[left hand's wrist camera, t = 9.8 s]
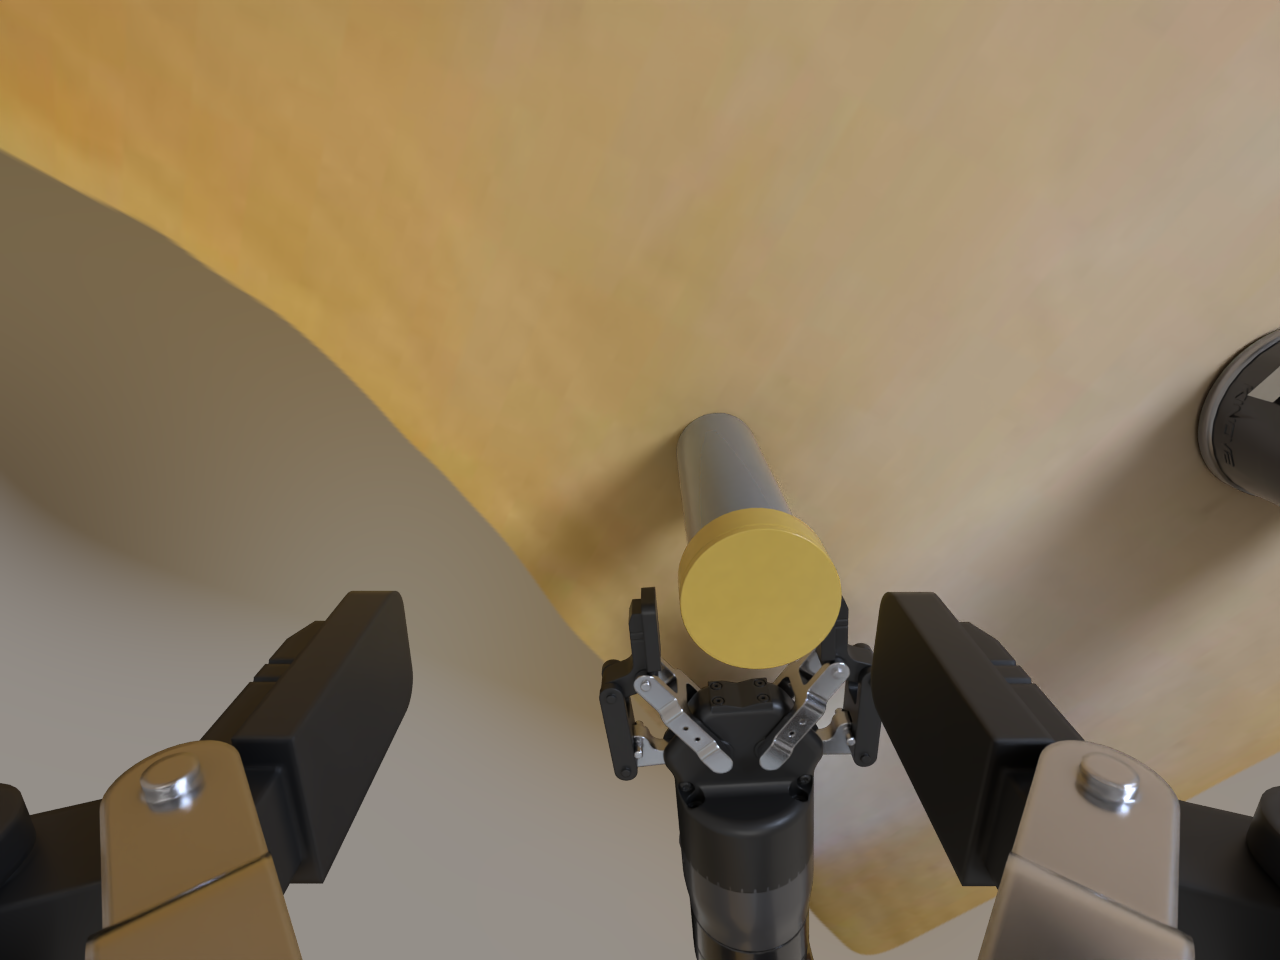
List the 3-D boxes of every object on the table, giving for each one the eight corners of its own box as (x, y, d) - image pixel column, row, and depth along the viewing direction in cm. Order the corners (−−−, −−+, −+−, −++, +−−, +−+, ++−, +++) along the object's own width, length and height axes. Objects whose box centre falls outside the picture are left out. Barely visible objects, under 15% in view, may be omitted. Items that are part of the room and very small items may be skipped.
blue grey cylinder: (665, 475, 38) (675, 630, 24) (692, 402, 37) (720, 520, 22) (739, 498, 39) (793, 664, 24) (768, 427, 37) (845, 558, 23)
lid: (657, 616, 25) (658, 645, 24) (708, 487, 23) (712, 508, 22) (793, 655, 26) (803, 686, 24) (853, 532, 24) (868, 556, 22)
